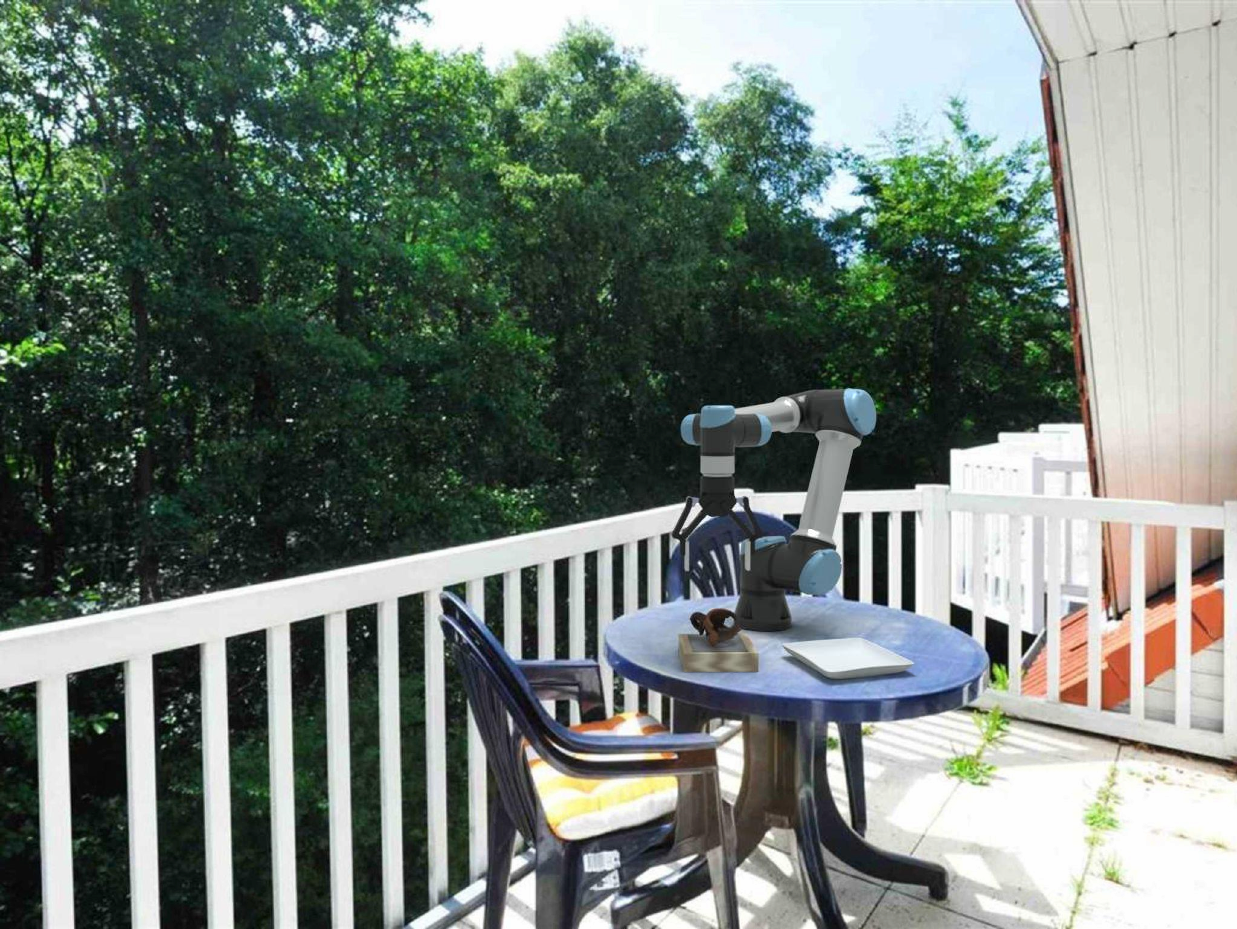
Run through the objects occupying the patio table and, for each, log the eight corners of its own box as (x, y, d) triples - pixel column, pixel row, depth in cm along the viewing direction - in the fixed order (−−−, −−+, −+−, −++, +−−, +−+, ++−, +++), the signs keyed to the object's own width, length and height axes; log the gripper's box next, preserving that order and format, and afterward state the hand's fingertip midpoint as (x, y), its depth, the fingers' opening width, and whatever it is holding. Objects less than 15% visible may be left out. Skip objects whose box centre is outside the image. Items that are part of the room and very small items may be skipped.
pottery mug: (742, 637, 192) (747, 611, 188) (729, 665, 185) (734, 639, 181) (693, 620, 196) (697, 594, 192) (679, 647, 189) (683, 620, 184)
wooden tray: (746, 650, 195) (746, 632, 195) (758, 671, 179) (758, 652, 179) (678, 650, 195) (678, 633, 195) (684, 671, 179) (684, 652, 179)
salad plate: (917, 677, 176) (917, 661, 176) (828, 687, 170) (828, 670, 170) (860, 650, 197) (861, 635, 197) (779, 658, 191) (779, 643, 190)
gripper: (770, 473, 189) (769, 566, 190) (660, 474, 188) (660, 566, 190) (776, 475, 181) (776, 572, 183) (662, 476, 181) (662, 573, 182)
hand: (717, 569), depth 186 cm, fingers open, 13 cm apart
